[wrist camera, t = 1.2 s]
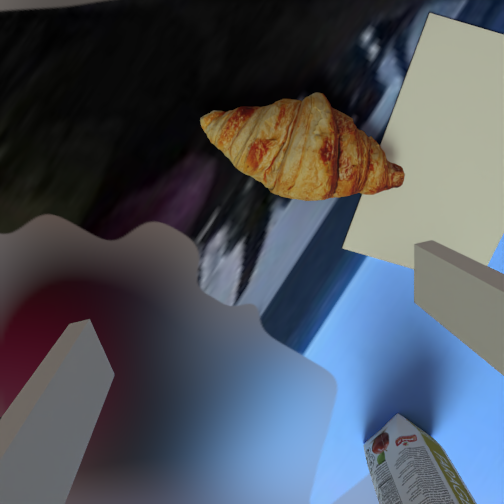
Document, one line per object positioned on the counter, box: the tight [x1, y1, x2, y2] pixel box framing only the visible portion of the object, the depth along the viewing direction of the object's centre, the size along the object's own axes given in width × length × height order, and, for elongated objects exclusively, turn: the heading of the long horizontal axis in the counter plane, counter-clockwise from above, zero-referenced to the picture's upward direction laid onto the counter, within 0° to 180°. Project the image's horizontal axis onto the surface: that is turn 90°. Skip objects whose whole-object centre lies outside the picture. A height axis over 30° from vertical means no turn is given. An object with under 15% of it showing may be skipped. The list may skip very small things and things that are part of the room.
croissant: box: [201, 93, 405, 201], centre depth 32 cm, size 21×10×8 cm, turn 75°
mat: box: [342, 13, 504, 269], centre depth 33 cm, size 16×24×1 cm, turn 164°
